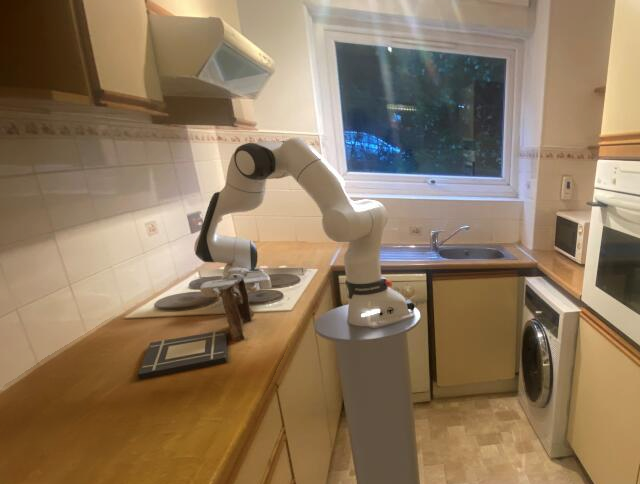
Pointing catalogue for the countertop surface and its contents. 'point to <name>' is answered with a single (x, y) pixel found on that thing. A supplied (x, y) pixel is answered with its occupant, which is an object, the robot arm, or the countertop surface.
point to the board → (184, 354)
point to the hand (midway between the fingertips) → (237, 292)
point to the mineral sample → (236, 307)
